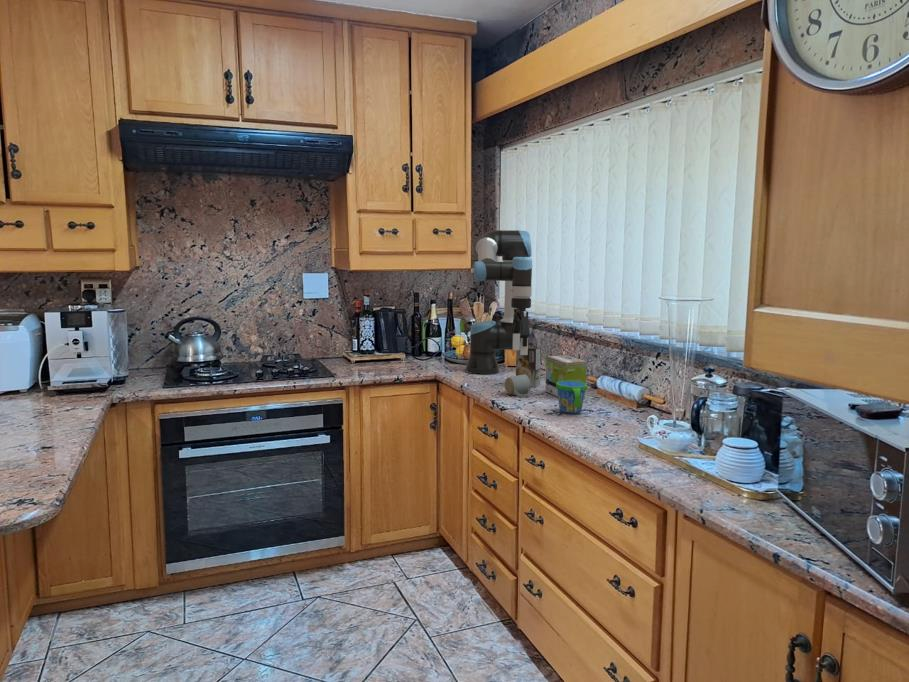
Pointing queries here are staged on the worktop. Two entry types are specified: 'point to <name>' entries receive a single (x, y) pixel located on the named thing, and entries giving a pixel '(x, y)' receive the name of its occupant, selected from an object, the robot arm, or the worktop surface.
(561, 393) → the snack cup
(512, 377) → the ceramic mug
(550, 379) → the tea box
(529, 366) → the coffee box
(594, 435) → the worktop surface
